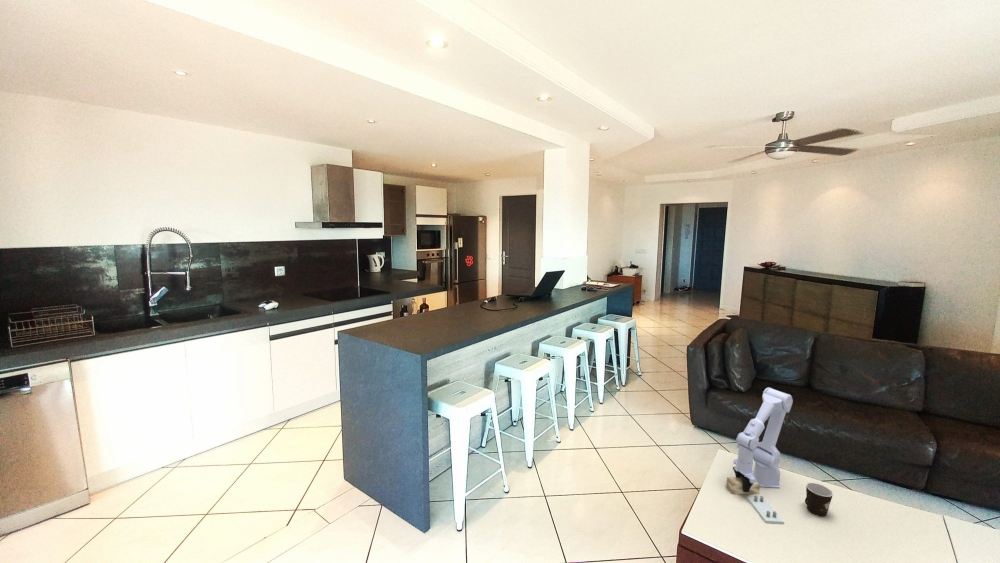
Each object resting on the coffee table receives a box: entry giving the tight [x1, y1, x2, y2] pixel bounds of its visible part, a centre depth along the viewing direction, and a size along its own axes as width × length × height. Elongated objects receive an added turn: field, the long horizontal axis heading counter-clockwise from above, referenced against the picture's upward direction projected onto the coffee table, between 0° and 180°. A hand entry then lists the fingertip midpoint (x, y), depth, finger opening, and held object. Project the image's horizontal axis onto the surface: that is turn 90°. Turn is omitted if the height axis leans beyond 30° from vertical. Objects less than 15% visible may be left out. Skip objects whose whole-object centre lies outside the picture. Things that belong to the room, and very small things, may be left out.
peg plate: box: [746, 495, 785, 525], centre depth 163 cm, size 14×7×3 cm, turn 175°
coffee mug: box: [804, 482, 834, 518], centre depth 162 cm, size 12×9×10 cm
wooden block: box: [725, 476, 761, 495], centre depth 175 cm, size 12×4×5 cm, turn 88°
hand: (742, 487), depth 176 cm, fingers closed on wooden block, 4 cm apart
